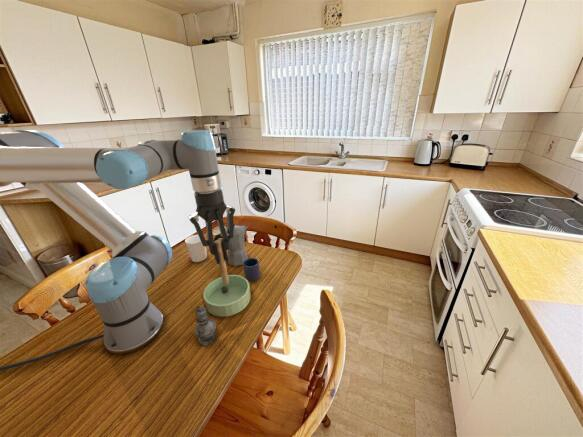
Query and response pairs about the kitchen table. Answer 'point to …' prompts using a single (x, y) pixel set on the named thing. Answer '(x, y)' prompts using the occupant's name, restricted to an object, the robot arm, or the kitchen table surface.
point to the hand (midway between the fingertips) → (221, 260)
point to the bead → (224, 289)
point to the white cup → (196, 248)
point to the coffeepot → (236, 246)
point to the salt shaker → (204, 327)
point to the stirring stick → (222, 262)
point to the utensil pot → (251, 269)
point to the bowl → (227, 296)
